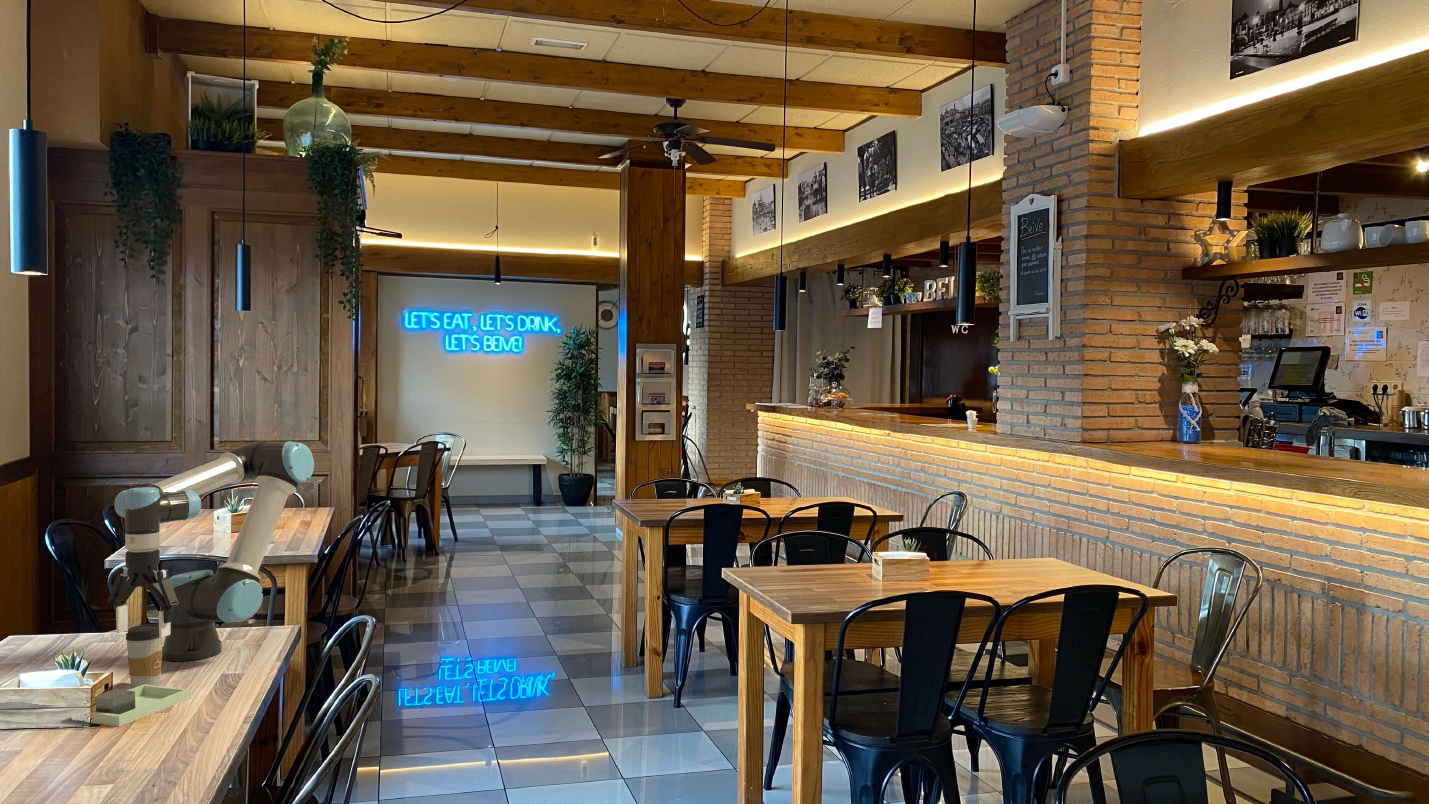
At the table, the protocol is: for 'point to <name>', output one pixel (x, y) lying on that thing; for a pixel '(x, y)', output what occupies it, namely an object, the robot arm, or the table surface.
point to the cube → (115, 701)
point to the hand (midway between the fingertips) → (143, 633)
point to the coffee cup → (144, 654)
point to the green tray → (144, 704)
